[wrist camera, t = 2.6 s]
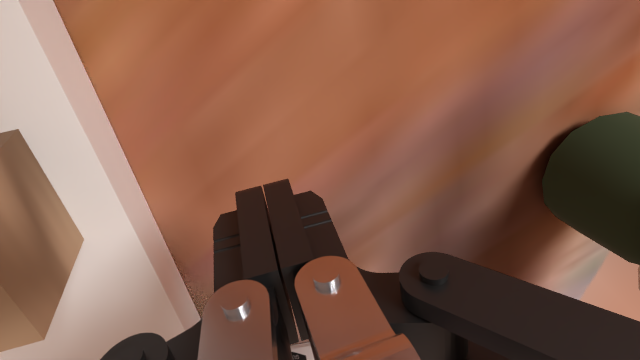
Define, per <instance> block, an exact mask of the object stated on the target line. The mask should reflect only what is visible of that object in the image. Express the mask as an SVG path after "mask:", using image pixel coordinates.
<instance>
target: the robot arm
mask: <svg viewBox="0 0 640 360" xmlns="http://www.w3.org/2000/svg"><path fill="white" fill-rule="evenodd" d="M263 187H264V192H265V196H266V201H267V204H266V201H265V197H264V194H263V190H262V187H261V186H258V187H254V188H250V189H246V190H242V191H238V192H236V193H235V195H236V205H237V210H236V211H232V212H228V213H225V214H221V215H220V217H219V219H218V220H217V222H216V224H215V226H214V227H213V240H214V293H213V294H212V295H211V297H210V298H209V299H208V301H207V302H206V304H205V306H204V310H203V317H202V319H201V320H200V321H199V322H197V323H196V324H195V325H194V326H192V327H191V328H189V329H188V330H186V331H184V332H182V333H181V334H179V335H177V336H175V337H174V338H172V339H170V340H168V341H167V342H166V341H165V339H164V338H163V337H161V336H160V335H158V334H155V333H139V334H135V335H133V336H130V337H128V338H126V339H124V340H122V341H120V342H119V343H117V344H116V345H115V346H113V347H112V348H111V349H110V350H109V351H108V352H107V353H106V354H105V355H104V356H103V357H102V358H101V359H100V360H293V358H292V353H291V348H290V344H294V343H297V342H299V340H298V335H297V331H296V326H295V322H294V317H293V313H294V316H295V319H296V323H297V326H298V330H299V333H300V337H301V340H302V341H303V340H306V339H309V341H310V345H311V349H312V352H313V356H314V359H315V360H640V322H639V321H636V320H634V319H631V318H628V317H625V316H622V315H619V314H617V313H614V312H611V311H608V310H605V309H602V308H599V307H596V306H594V305H591V304H588V303H585V302H582V301H579V300H577V299H574V298H571V297H568V296H565V295H562V294H559V293H557V292H554V291H551V290H548V289H545V288H542V287H539V286H537V285H534V284H531V283H528V282H525V281H522V280H519V279H517V278H514V277H511V276H508V275H505V274H502V273H499V272H497V271H494V270H491V269H488V268H485V267H482V266H479V265H477V264H474V263H471V262H468V261H465V260H462V259H459V258H457V257H454V256H451V255H448V254H444V253H438V252H427V253H421V254H418V255H415V256H413V257H411V258H410V259H408V260H407V261H406V262H405V263H404V264H403V265H402V267H401V269H400V272H399V273H374V272H369V271H365V270H362V269H360V268H358V267H356V266H355V264H353V263H352V262H351V261H350V260H349V259H348V257H347V255H346V253H345V250H344V248H343V246H342V243H341V241H340V239H339V236H338V234H337V232H336V229H335V227H334V225H333V222H332V221H331V218H330V215H329V213H328V212H327V208H326V206H325V204H324V201H323V199H322V198H321V197H319V196H318V195H316V194H315V193H313V192H312V191H308V192H304V193H300V194H296V195H293V192H292V189H291V186H290V183H289V180H288V179H284V180H281V181H277V182H273V183H269V184H265V185H263ZM267 206H268V208H267ZM290 302H291V303H290ZM291 306H292V308H291ZM292 309H293V313H292Z"/></svg>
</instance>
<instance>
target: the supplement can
mask: <svg viewBox="0 0 640 360" xmlns="http://www.w3.org/2000/svg"><path fill="white" fill-rule="evenodd" d="M290 348H291V353H292V358H293V360H315V359H314V356H313V352H312V349H311V345H310V342H308V343H302V344H295V345H291V346H290Z"/></svg>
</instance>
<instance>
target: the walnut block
mask: <svg viewBox="0 0 640 360" xmlns="http://www.w3.org/2000/svg"><path fill="white" fill-rule="evenodd" d="M83 241H84V238H83V236H82V235H81V233H80V231H79V230H78V228H77V226H76V225H75V223H74V221H73V220H72V218H71V216H70V215H69V213H68V211H67V210H66V208H65V206H64V205H63V203H62V201H61V200H60V198H59V196H58V195H57V193H56V191H55V190H54V188H53V186H52V184H51V183H50V181H49V179H48V178H47V176H46V174H45V173H44V171H43V169H42V168H41V166H40V164H39V163H38V161H37V159H36V158H35V156H34V154H33V153H32V151H31V149H30V148H29V146H28V144H27V143H26V141H25V139H24V138H23V136H22V134H21V133H20V131H19V129H16V130H11V131H7V132H2V133H0V352H3V351H6V350H10V349H13V348H17V347H21V346H24V345H28V344H31V343H35V342H39V341H42V340H45V337H46V335H47V332H48V330H49V327H50V324H51V322H52V319H53V317H54V314H55V312H56V309H57V307H58V304H59V302H60V299H61V297H62V294H63V292H64V289H65V287H66V284H67V282H68V279H69V276H70V274H71V271H72V269H73V266H74V264H75V261H76V259H77V256H78V254H79V251H80V249H81V246H82V244H83Z"/></svg>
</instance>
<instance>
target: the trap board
mask: <svg viewBox="0 0 640 360" xmlns="http://www.w3.org/2000/svg"><path fill="white" fill-rule="evenodd" d="M16 129H19V131H20V133H21V134H22V136H23V138H24V139H25V141H26V143H27V144H28V146H29V148H30V149H31V151H32V153H33V154H34V156H35V158H36V159H37V161H38V163H39V164H40V166H41V168H42V169H43V171H44V173H45V174H46V176H47V178H48V179H49V181H50V183H51V184H52V186H53V188H54V190H55V191H56V193H57V195H58V196H59V198H60V200H61V201H62V203H63V205H64V206H65V208H66V210H67V211H68V213H69V215H70V216H71V218H72V220H73V221H74V223H75V225H76V226H77V228H78V230H79V231H80V233H81V235H82V236H83V238H84V241H83V244H82V246H81V249H80V251H79V254H78V256H77V259H76V261H75V264H74V266H73V269H72V271H71V274H70V276H69V279H68V282H67V284H66V287H65V289H64V292H63V294H62V297H61V299H60V302H59V304H58V307H57V309H56V312H55V314H54V317H53V319H52V322H51V324H50V327H49V330H48V332H47V335H46V337H45V340H42V341H39V342H35V343H31V344H28V345H24V346H21V347H17V348H13V349H10V350H6V351H3V352H0V360H100V359H101V358H102V357H103V356H104V355H105V354H106V353H107V352H108V351H109V350H110V349H111V348H112V347H113V346H115V345H116V344H117V343H119V342H120V341H122V340H124V339H126V338H128V337H130V336H133V335H135V334H139V333H155V334H158V335H160V336H161V337H163V338H164V339H165V341H166V342H167V341H168V340H170V339H172V338H174V337H175V336H177V335H179V334H181V333H182V332H184V331H186V330H188V329H189V328H191V327H192V326H194V325H195V324H196V323H197V322H199V321H200V320H201V318H200V316H199V314H198V312H197V310H196V308H195V305H194V303H193V301H192V299H191V297H190V295H189V293H188V290H187V288H186V286H185V284H184V282H183V280H182V277H181V275H180V273H179V271H178V269H177V267H176V265H175V262H174V260H173V258H172V256H171V254H170V252H169V249H168V247H167V245H166V243H165V241H164V239H163V237H162V234H161V232H160V230H159V228H158V226H157V224H156V221H155V219H154V217H153V215H152V213H151V211H150V209H149V206H148V204H147V202H146V200H145V198H144V196H143V193H142V191H141V189H140V187H139V185H138V183H137V181H136V178H135V176H134V174H133V172H132V170H131V168H130V165H129V163H128V161H127V159H126V157H125V155H124V153H123V150H122V148H121V146H120V144H119V142H118V140H117V137H116V135H115V133H114V131H113V129H112V127H111V124H110V122H109V120H108V118H107V116H106V114H105V112H104V109H103V107H102V105H101V103H100V101H99V99H98V96H97V94H96V92H95V90H94V88H93V86H92V84H91V81H90V79H89V77H88V75H87V73H86V71H85V68H84V66H83V64H82V62H81V60H80V58H79V56H78V53H77V51H76V49H75V47H74V45H73V43H72V40H71V38H70V36H69V34H68V32H67V30H66V28H65V25H64V23H63V21H62V19H61V17H60V15H59V12H58V10H57V8H56V6H55V4H54V2H53V0H0V133H2V132H7V131H11V130H16Z"/></svg>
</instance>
